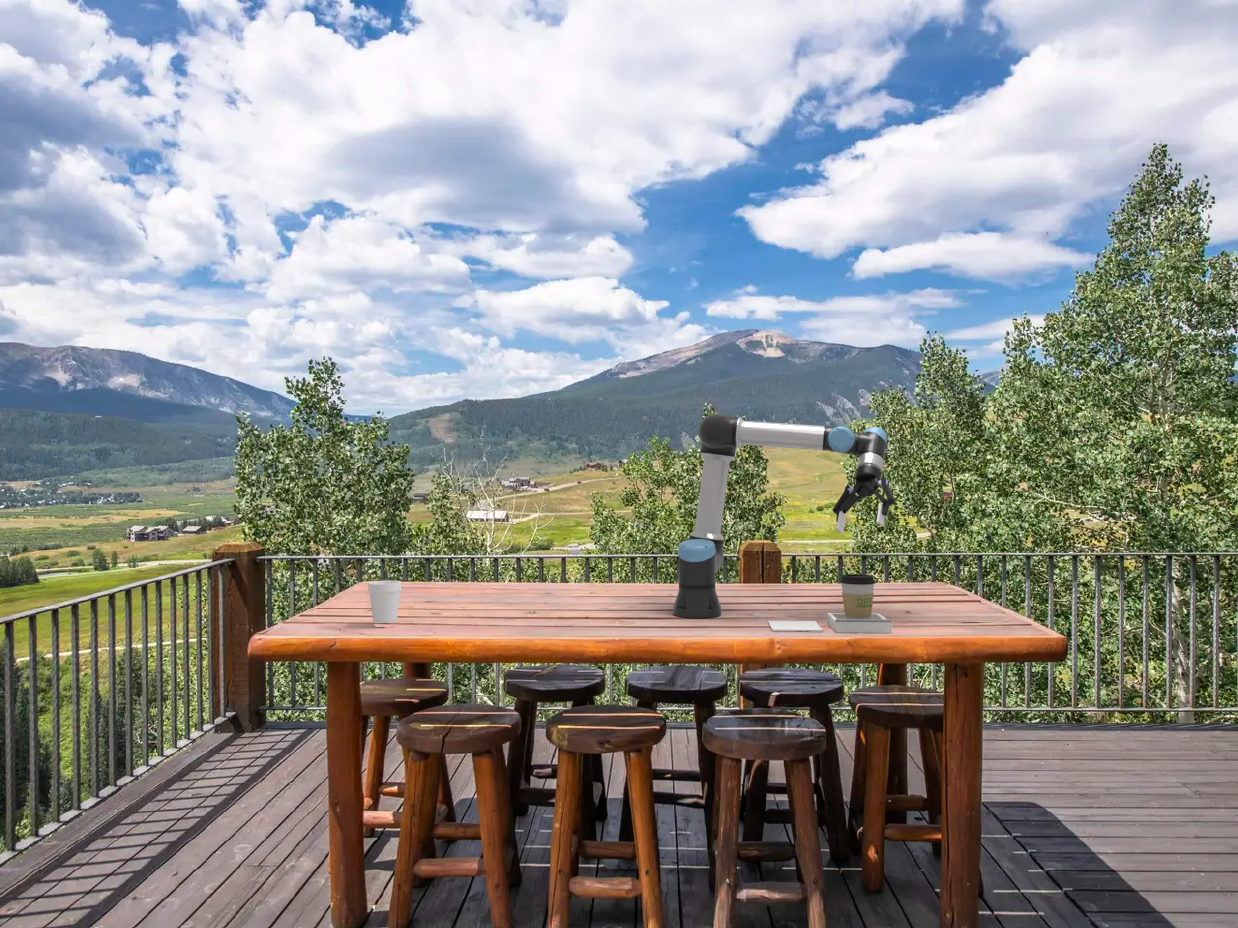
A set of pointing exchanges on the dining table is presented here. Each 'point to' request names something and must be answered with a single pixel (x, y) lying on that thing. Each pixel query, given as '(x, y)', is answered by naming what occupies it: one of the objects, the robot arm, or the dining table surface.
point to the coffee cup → (857, 595)
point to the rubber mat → (795, 626)
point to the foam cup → (384, 600)
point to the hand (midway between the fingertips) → (859, 527)
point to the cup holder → (859, 624)
